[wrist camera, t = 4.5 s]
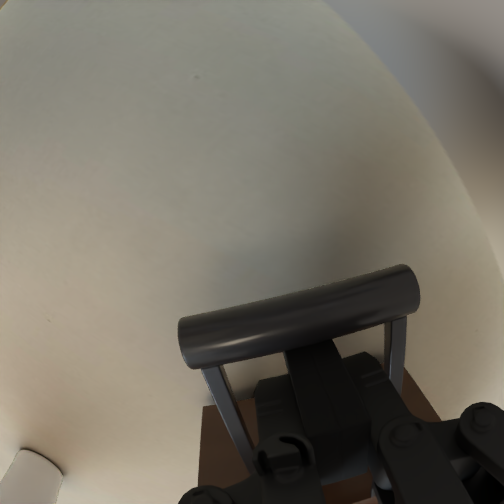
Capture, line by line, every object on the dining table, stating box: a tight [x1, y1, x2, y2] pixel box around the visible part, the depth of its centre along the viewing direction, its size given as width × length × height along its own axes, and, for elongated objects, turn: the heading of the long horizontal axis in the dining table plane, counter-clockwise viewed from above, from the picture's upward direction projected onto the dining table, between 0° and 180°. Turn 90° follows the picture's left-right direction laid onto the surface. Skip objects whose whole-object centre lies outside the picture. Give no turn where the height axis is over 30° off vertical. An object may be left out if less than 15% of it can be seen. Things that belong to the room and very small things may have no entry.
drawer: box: [178, 264, 441, 504], centre depth 13 cm, size 22×11×8 cm, turn 13°
